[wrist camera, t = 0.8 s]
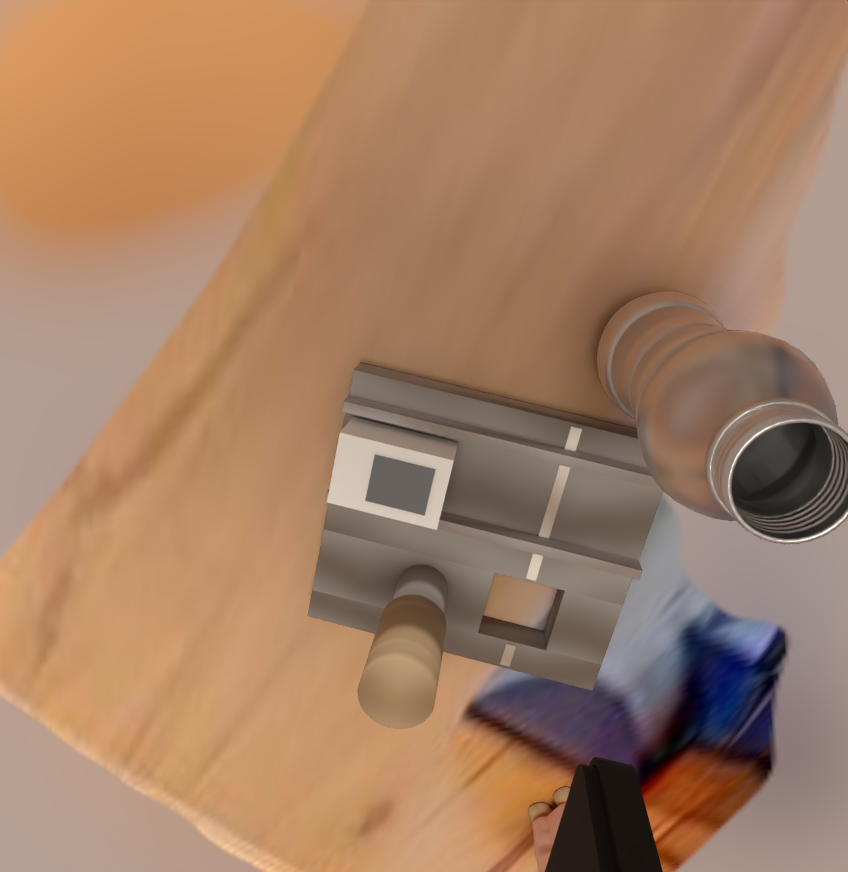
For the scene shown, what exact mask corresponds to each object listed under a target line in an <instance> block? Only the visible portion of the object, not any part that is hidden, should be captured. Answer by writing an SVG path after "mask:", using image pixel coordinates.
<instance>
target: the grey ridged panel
mask: <svg viewBox="0 0 848 872" xmlns="http://www.w3.org/2000/svg"><path fill="white" fill-rule="evenodd" d="M342 412H346V413H345V419H344V424H343V428H344V427H345V426H346V424H347V423H348V422H349V421H350V419H351V418H352V417H356V418H360V419H364V420H368V421H373V422H377V423H381V424H385V425H389V426H393V427H397V428H401V429H405V430H409V431H413V432H417V433H421V434H425V435H430V436H434V437H438V438H442V439H446V440H450V441H454V442H458V446H457V450H456V454H455V458H454V462H453V466H452V470H451V474H450V478H449V482H448V487H447V491H446V495H445V499H444V503H443V507H442V511H441V515H440V519H439V523H438V527H437V530H434V529H430V528H427V527H423V526H419V525H415V524H411V523H407V522H403V521H399V520H395V519H391V518H387V517H383V516H379V515H375V514H371V513H367V512H363V511H359V510H355V509H351V508H347V507H343V506H339V505H335V504H331V503H329V504H328V509H327V515H326V520H325V525H324V531H323V536H322V541H321V547H320V552H319V557H318V563H317V568H316V573H315V579H314V584H313V589H312V595H311V600H310V605H309V611H308V616H309V617H313V618H317V619H320V620H324V621H328V622H332V623H336V624H340V625H343V626H347V627H351V628H355V629H359V630H363V631H366V632H370V633H374V634H376V631H377V628H378V625H379V622H380V619H381V616H382V613H383V611H384V609H385V607H386V606H387V605H388V604H389V603H390V602H391V601H392V599H393V596H394V593H395V590H396V587H397V583H398V580H399V577H400V575H401V574H402V573H403V572H404V571H405V570H406V569H407V568H409V567H411V566H414V565H420V564H422V565H429V566H432V567H434V568H436V569H437V570H438V571H440V572H441V573H442V575H443V576H444V577H445V579H446V582H447V586H448V591H447V596H446V602H445V608H444V616H445V619H446V624H447V629H446V635H445V641H444V648H443V652H447V653H451V654H454V655H458V656H462V657H466V658H470V659H474V660H477V661H481V662H485V663H489V664H493V665H497V666H500V667H504V668H508V669H512V670H516V671H520V672H523V673H527V674H531V675H535V676H539V677H542V678H546V679H550V680H554V681H558V682H562V683H565V684H569V685H573V686H577V687H581V688H585V689H588V690H593V687H594V684H595V681H596V679H597V676H598V673H599V670H600V667H601V665H602V662H603V659H604V656H605V653H606V651H607V648H608V645H609V642H610V639H611V637H612V634H613V631H614V628H615V625H616V623H617V620H618V617H619V614H620V611H621V609H622V606H623V603H624V600H625V597H626V595H627V592H628V589H629V586H630V583H631V580H632V578H633V579H637V580H639V579H640V576H641V573H642V568H641V566H640V563H639V558H640V555H641V552H642V550H643V547H644V544H645V541H646V538H647V536H648V533H649V530H650V527H651V524H652V522H653V519H654V516H655V513H656V510H657V508H658V505H659V502H660V499H661V496H662V494H663V490H662V489H661V488H660V487H659V485H658V484H657V483H656V481H655V480H654V479H653V477H652V476H651V474H650V472H649V470H648V468H647V465H646V463H645V461H644V458H643V455H642V452H641V449H640V444H639V440H638V436H637V429H634V428H629V427H625V426H621V425H617V424H613V423H609V422H605V421H600V420H596V419H592V418H588V417H584V416H580V415H576V414H571V413H567V412H563V411H559V410H555V409H551V408H547V407H543V406H538V405H534V404H530V403H526V402H522V401H518V400H514V399H509V398H505V397H501V396H497V395H493V394H489V393H485V392H480V391H476V390H472V389H468V388H464V387H460V386H456V385H451V384H447V383H443V382H439V381H435V380H431V379H427V378H422V377H418V376H414V375H410V374H406V373H402V372H398V371H393V370H389V369H385V368H381V367H377V366H373V365H369V364H365V363H360V364H359V365H358V366H357V367H356V368H355V369H354V371H353V376H352V382H351V387H350V392H349V396H348V397H347V398H346V399H345V400H344V403H343V408H342ZM328 494H329V489H328V491H327V494H326V500H325V501H327V499H328ZM495 573H497V574H501V575H505V576H509V577H513V578H517V579H521V580H525V581H528V582H532V583H536V584H540V585H544V586H548V587H552V588H556V589H558V591H557V594H556V597H555V600H554V603H553V606H552V609H551V613H550V616H549V619H548V622H547V625H546V628H545V631H540V630H536V629H532V628H528V627H524V626H520V625H516V624H513V623H509V622H505V621H501V620H497V619H493V618H489V617H485V616H483V613H484V609H485V606H486V602H487V599H488V595H489V592H490V588H491V585H492V581H493V578H494V574H495Z"/></svg>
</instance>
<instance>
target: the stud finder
mask: <svg viewBox="0 0 848 872" xmlns="http://www.w3.org/2000/svg"><path fill="white" fill-rule="evenodd" d="M457 446H458V442H454V441H450V440H446V439H442V438H438V437H434V436H430V435H425V434H421V433H417V432H413V431H409V430H405V429H401V428H397V427H393V426H389V425H385V424H381V423H377V422H373V421H368V420H364V419H360V418H356V417H352V418H351V419H350V421H349V422H348V423H347V424H346V426H345V427H344V428H343V429H342V431H341V432H340V435H339V440H338V446H337V451H336V456H335V462H334V467H333V472H332V478H331V483H330V488H329V494H328V499H327V502H328V503H331V504H335V505H339V506H343V507H347V508H351V509H355V510H359V511H363V512H367V513H371V514H375V515H379V516H383V517H387V518H391V519H395V520H399V521H403V522H407V523H411V524H415V525H419V526H423V527H427V528H430V529H434V530H437V527H438V523H439V519H440V515H441V511H442V507H443V503H444V499H445V495H446V491H447V487H448V482H449V478H450V474H451V470H452V466H453V462H454V458H455V454H456V450H457Z"/></svg>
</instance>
